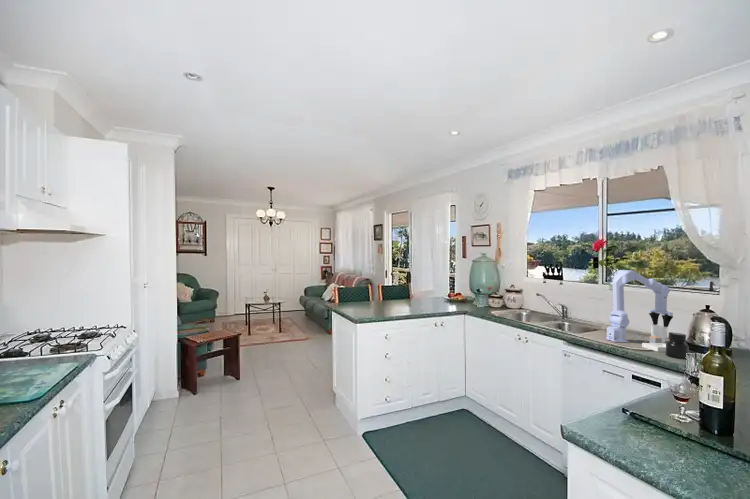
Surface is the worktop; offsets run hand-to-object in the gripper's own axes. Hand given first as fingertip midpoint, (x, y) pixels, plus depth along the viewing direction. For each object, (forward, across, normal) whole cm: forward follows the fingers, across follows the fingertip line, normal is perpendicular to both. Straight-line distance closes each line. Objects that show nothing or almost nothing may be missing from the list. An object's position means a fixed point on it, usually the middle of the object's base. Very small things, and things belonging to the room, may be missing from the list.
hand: (660, 325), depth 217 cm
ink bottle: (+10, -36, +23) cm, 44 cm away
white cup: (+10, 0, +1) cm, 10 cm away
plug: (+10, -10, +12) cm, 19 cm away
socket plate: (+10, -20, +17) cm, 28 cm away
